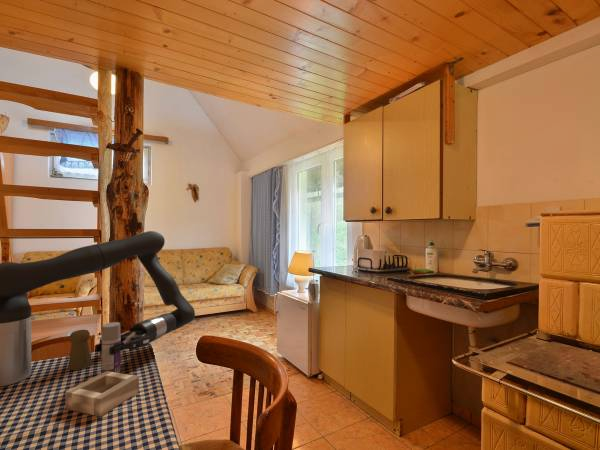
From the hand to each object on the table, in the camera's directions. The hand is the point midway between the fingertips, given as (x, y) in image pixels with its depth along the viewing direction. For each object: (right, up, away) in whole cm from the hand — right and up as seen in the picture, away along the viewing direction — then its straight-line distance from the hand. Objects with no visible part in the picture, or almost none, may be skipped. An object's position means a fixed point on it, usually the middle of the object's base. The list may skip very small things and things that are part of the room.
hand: (103, 350), depth 86 cm
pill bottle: (-9, -9, +17) cm, 21 cm away
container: (+1, -9, +2) cm, 9 cm away
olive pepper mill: (-13, -9, +9) cm, 18 cm away
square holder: (+6, -8, -10) cm, 14 cm away
